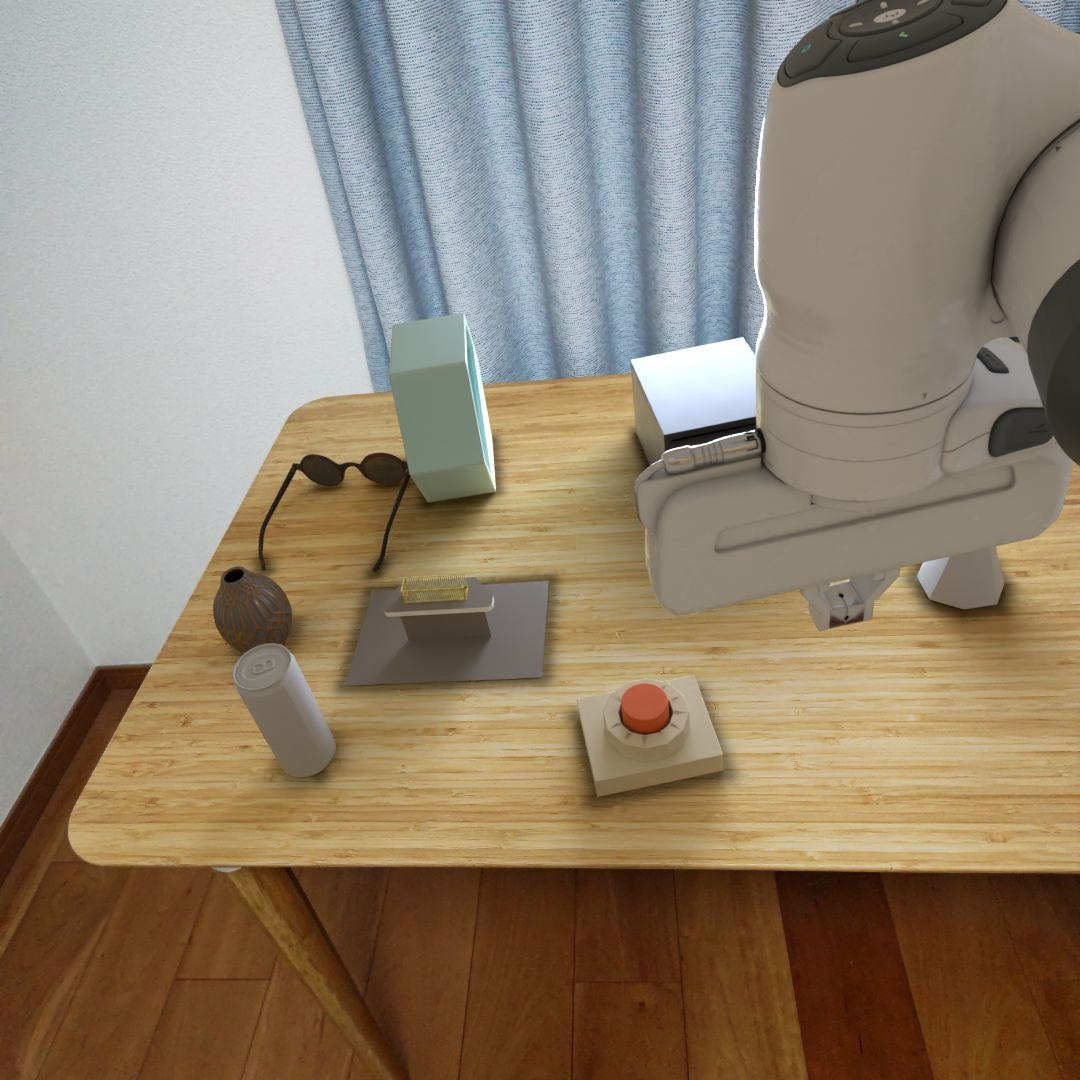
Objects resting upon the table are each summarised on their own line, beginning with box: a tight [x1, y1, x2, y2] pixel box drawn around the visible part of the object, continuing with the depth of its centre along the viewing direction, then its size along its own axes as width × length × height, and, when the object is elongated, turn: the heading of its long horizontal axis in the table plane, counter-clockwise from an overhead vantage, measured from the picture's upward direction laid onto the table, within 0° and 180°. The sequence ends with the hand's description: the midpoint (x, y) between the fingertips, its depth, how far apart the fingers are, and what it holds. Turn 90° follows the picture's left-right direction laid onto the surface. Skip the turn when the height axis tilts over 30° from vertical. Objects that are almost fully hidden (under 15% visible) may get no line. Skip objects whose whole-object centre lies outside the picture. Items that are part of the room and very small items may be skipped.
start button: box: [621, 683, 669, 734], centre depth 69 cm, size 4×4×2 cm
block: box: [575, 674, 724, 798], centre depth 71 cm, size 10×8×4 cm
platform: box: [345, 573, 550, 687], centre depth 82 cm, size 12×18×7 cm, turn 87°
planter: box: [388, 312, 497, 503], centre depth 97 cm, size 17×8×21 cm
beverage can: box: [232, 643, 337, 778], centre depth 72 cm, size 5×5×12 cm
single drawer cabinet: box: [629, 336, 756, 466], centre depth 95 cm, size 15×13×10 cm
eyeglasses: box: [257, 452, 412, 573], centre depth 97 cm, size 15×15×5 cm
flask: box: [916, 546, 1005, 610], centre depth 77 cm, size 7×7×10 cm
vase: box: [212, 565, 293, 654], centre depth 84 cm, size 7×7×9 cm
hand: (839, 617), depth 49 cm, fingers closed
